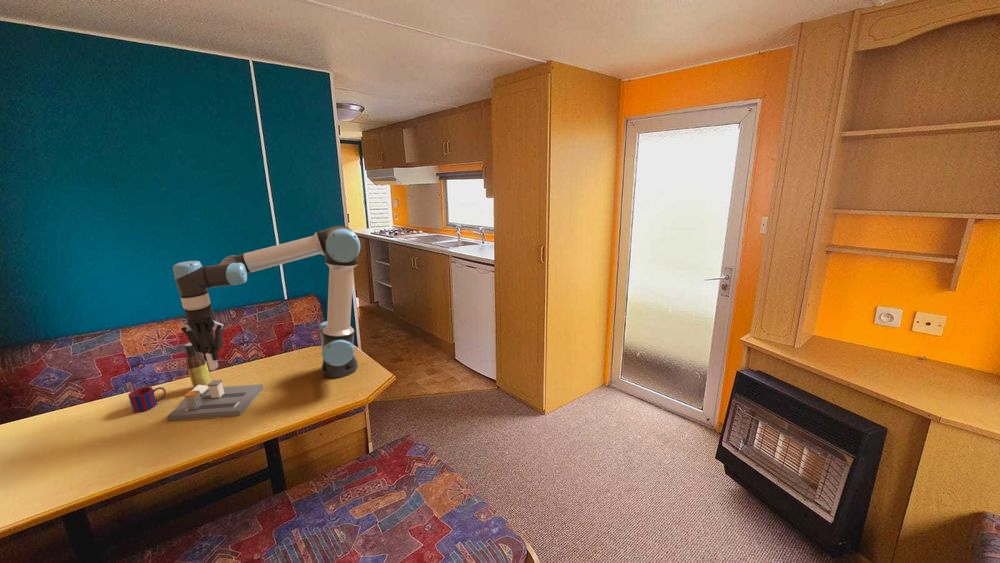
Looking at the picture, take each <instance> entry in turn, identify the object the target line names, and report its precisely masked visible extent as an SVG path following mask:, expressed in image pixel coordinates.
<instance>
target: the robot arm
mask: <svg viewBox="0 0 1000 563" xmlns="http://www.w3.org/2000/svg"><path fill="white" fill-rule="evenodd" d="M360 252H361V241H360V238H359V237H358V235H357V233H355V232H354V231H353V230H352V229H351V228H349V227H347V226H345V225H334V226H332V227H329V228H326V229H324V230H320V231H317V232H315V233H314V235H311V236H307V237H303V238H299V239H296V240H290V241H288V242H284V243H279V244H276V245H272V246H269V247H265V248H260V249H257V250H253V251H248V252H245V253H242V254H238V255H235V254H234V255H233V254H232V255H228V256H226V257H224V258H223V259H222V260H221V262H220V263H219V264H216V265H214V264H213V265H207V266H205V265H203V264H202V263H201V262H200V261H199V260H189V261H182V262H176V264H174V265H173V267H172V270H173V271H172V272H173V275H174V280H175V283H176V287H177V290H178V293H179V297H180V302H181V303H182V304H181V305H182V308H183V309H184V315H185V318H186V320H187V324H186V325H185V326H183V327H182V328H181V329H180V330H181V331H182V332H183V334H185V335H186V337H187V339H188V341H189V343H190V342H191V344H192V346H193V347H194V349H195V351H196V352H200V353H201V354H202V356H203V357H204V359H205V361H206V363H207V366H208V369H209V371H215V370H217V368H219V362H218V359H219V354H218V351H219V350H221V349H222V348H223V335H224V334H223V329H224V327H225V323H224V322H221V323H220V322H218V321H217V319H216V318H215V317H214V310H213V306H212V304H211V299H210V295H209V290H208V289H212V288H220V287H229V286H231V287H232V286H238V285H242V284H245V283H247V281H248V274H251V273H254V272H257V271H262V270H266V269H268V268H269V269H270V268H272V267H273V268H274V267H277V266H279V265H284V264H287V263H291V262H295V261H298V260H303V259H307V258H310V257H314V256H317V255H322V256H325V257H324V258H325V260H324V261H325V262H324V263H325V264H326V265H327V266H328V268H329V273H328V288H327V289H328V292H327V296H328V297H327V314H326V315H327V318H326V320H325V321H323V322H321V323H319V329H318V331H319V335H320V343H321V356H322V362H321V366H320V371H321V375H322V376H323V377H326V378H329V379H331V378H332V379H334V378H335V379H336V378H342V377H346V376H349V375H351V374H353V373H354V372H356V371H357V370H358V368H359V363H358V359H357V357H356V356H355V351H356V350H355V345H354V339H355V337H354V336H355V329H354V328H353V327H352V326H351V318H352V304H353V303H352V300H353V283H354V280H353V279H354V269H355V267H357V266H358V264H359V254H360ZM214 329H215V331H214ZM355 370H356V371H355Z"/></svg>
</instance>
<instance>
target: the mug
mask: <svg viewBox="0 0 1000 563" xmlns="http://www.w3.org/2000/svg"><path fill="white" fill-rule="evenodd" d="M158 390H162V391H163V393H164V394H163V396H162V397H160V398H158V399H156V395H155V393H156V391H158ZM166 395H167V390H166V388H164V387H160V386H159V387H157V388H155V389H154V388H153V387H152V386H145V387H140V388H137V389H135V390H132V391H131V392H129V393H128V399H129V401H130V406H131V408H132V412H134V413H136V414H139V413H145V412H147V411H150V410H152V409H154V408H155V407H156V406H157V405H158V402H159V401H162V400H163V399H164V398H165V397H166Z"/></svg>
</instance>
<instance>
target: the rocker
mask: <svg viewBox="0 0 1000 563" xmlns="http://www.w3.org/2000/svg"><path fill="white" fill-rule="evenodd" d="M208 389H209V387H208V386H205V385H197V386H196V387H195V388H193V389H192V390H191V391H198V390H199V391H200V395H202V394H203V393H204V392H206V391H207V390H208Z"/></svg>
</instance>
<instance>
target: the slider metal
mask: <svg viewBox="0 0 1000 563" xmlns="http://www.w3.org/2000/svg"><path fill="white" fill-rule="evenodd" d="M184 400H186V403H187V406H188V410H193V409H198V408H199V407H200V406H201V405H202V401H201V397H200V391H199V390H198V391H192V390H189V391H188V392H187V393H186V394H184Z"/></svg>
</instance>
